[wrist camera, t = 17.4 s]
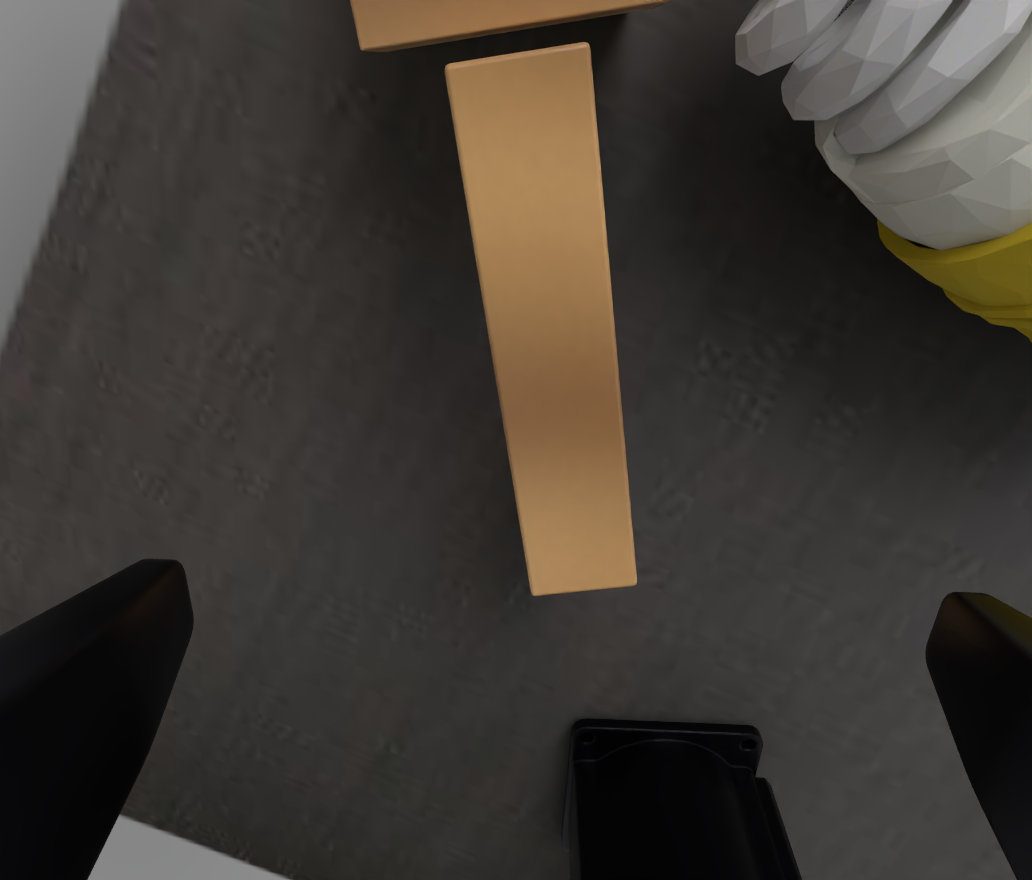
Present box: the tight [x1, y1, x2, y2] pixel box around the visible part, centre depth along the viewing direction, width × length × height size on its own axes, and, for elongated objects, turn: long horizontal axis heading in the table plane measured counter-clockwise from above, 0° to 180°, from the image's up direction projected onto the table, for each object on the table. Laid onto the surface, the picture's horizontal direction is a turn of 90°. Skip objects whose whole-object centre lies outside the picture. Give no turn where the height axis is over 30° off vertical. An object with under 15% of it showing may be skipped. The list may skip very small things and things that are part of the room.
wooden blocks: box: [350, 0, 671, 596], centre depth 15 cm, size 15×5×7 cm, turn 8°
